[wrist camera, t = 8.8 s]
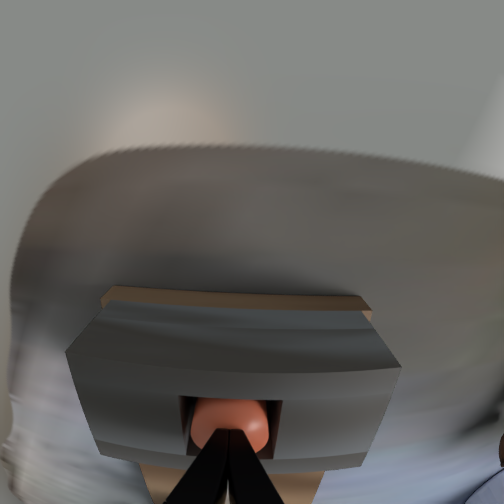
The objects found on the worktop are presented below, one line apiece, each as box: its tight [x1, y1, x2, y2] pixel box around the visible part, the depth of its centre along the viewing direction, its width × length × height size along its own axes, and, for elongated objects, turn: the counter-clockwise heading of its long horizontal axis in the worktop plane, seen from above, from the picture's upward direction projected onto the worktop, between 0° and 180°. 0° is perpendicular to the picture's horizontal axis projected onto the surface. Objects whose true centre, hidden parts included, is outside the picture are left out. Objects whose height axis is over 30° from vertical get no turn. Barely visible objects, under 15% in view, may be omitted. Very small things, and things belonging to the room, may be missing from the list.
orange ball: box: [191, 397, 269, 453], centre depth 10 cm, size 2×2×2 cm
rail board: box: [65, 285, 402, 504], centre depth 14 cm, size 24×11×6 cm, turn 177°
